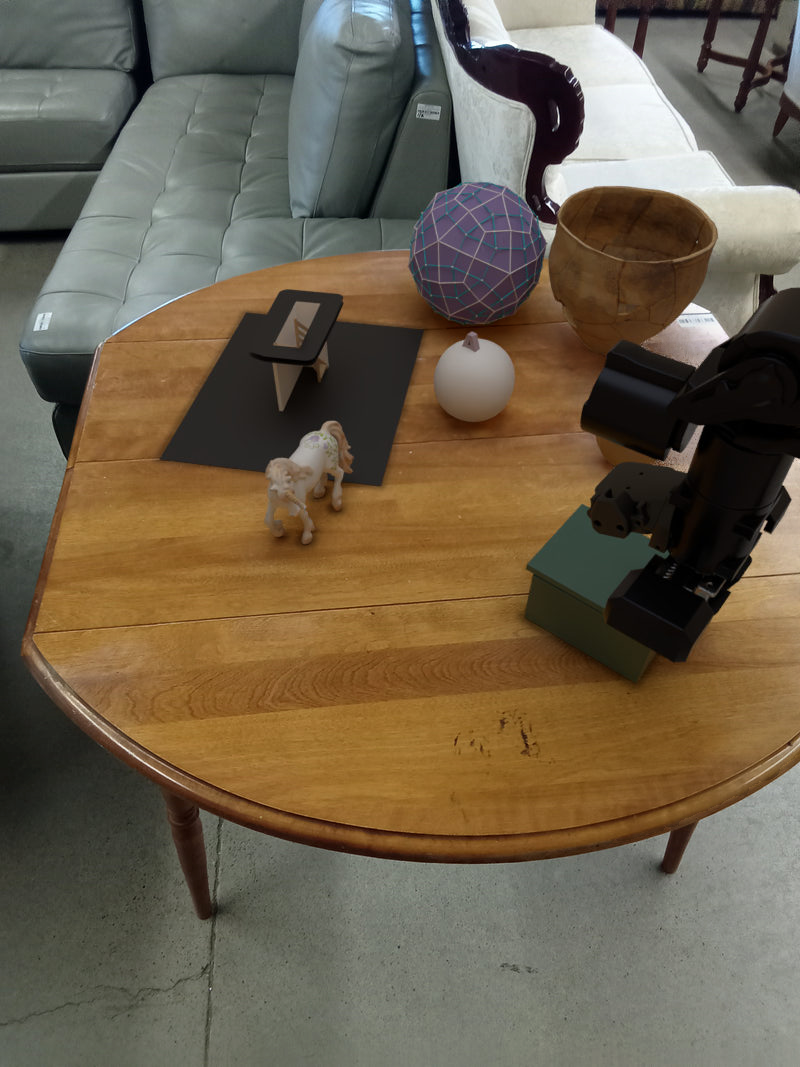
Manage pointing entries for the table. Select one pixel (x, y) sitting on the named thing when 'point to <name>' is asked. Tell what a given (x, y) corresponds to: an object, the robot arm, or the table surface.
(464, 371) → the ornament
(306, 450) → the unicorn figurine
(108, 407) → the table surface
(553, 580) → the lid
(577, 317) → the bowl
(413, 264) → the decorative sphere
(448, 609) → the table surface
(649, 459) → the doughnut
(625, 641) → the chest
